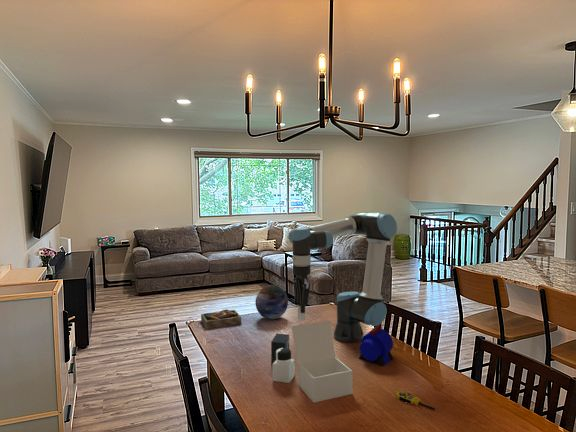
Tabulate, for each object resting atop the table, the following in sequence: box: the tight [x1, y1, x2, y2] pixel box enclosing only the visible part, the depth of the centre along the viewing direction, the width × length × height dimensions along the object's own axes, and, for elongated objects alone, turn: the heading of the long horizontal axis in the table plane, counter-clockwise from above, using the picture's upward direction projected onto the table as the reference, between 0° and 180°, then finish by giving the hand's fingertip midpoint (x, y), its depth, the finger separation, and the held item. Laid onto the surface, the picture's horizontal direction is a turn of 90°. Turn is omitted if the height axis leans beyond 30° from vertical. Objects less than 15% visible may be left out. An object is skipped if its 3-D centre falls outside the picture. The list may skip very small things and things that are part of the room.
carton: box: [297, 356, 353, 403], centre depth 161 cm, size 16×14×9 cm
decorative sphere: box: [255, 284, 289, 321], centre depth 247 cm, size 19×20×20 cm
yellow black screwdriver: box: [395, 391, 436, 411], centre depth 151 cm, size 5×2×15 cm
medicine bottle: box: [272, 348, 296, 384], centre depth 171 cm, size 7×7×12 cm
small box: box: [270, 333, 290, 365], centre depth 188 cm, size 11×6×10 cm, turn 168°
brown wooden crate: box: [205, 309, 239, 321], centre depth 242 cm, size 11×16×5 cm
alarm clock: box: [358, 324, 394, 367], centre depth 187 cm, size 12×12×15 cm
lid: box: [291, 320, 336, 364], centre depth 169 cm, size 17×14×1 cm
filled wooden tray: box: [200, 309, 242, 329], centre depth 242 cm, size 20×15×4 cm
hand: (301, 319), depth 179 cm, fingers closed
